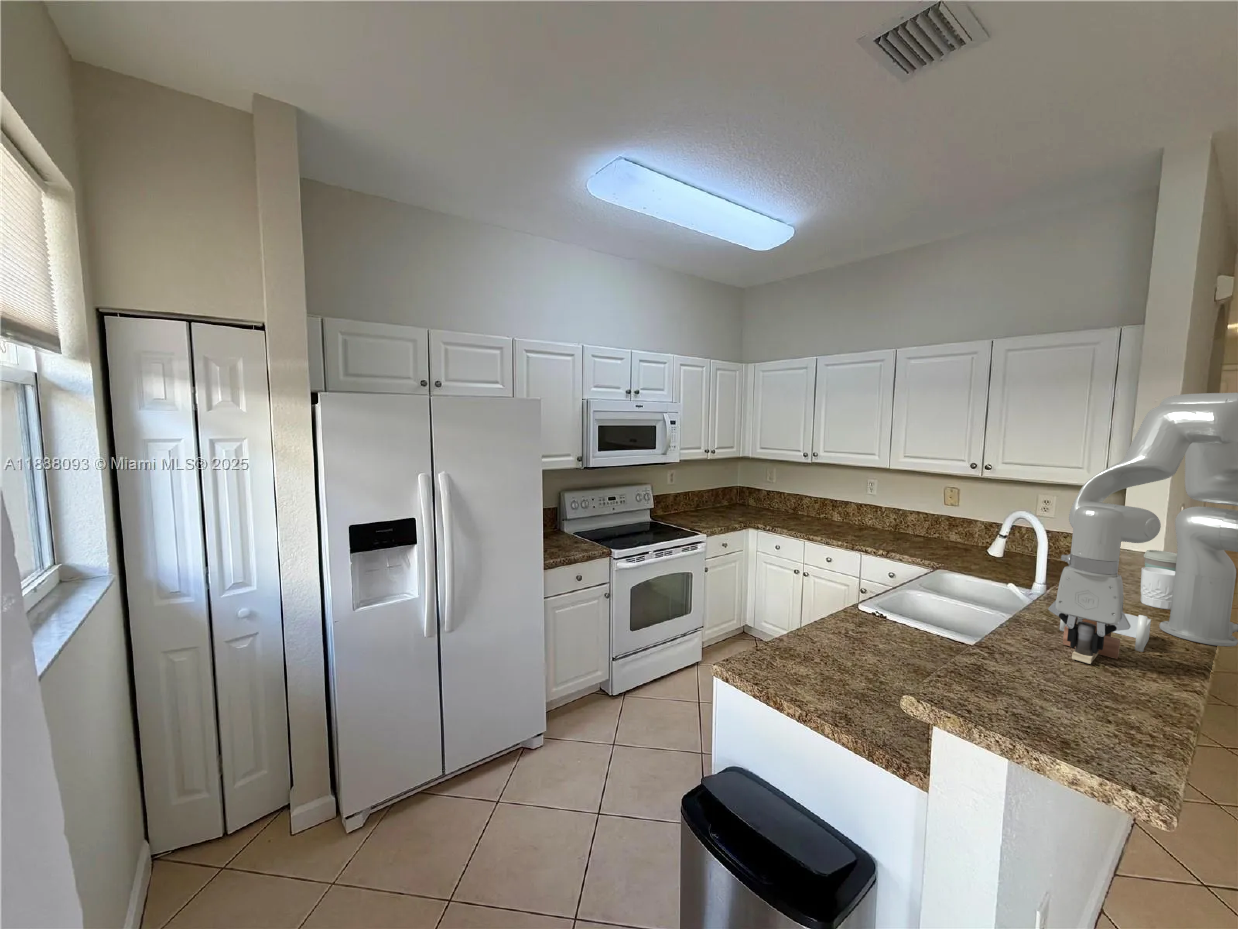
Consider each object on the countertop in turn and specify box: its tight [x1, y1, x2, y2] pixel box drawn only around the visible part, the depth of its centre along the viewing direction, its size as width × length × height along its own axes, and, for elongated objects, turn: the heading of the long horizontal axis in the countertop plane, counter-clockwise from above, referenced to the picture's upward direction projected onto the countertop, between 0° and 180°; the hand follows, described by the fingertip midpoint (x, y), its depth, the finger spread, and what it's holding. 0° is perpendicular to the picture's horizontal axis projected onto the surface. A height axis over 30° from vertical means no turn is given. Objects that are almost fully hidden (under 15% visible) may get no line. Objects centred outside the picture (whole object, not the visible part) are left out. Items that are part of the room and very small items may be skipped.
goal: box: [1059, 612, 1152, 653], centre depth 123 cm, size 11×15×8 cm
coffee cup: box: [1143, 549, 1177, 571], centre depth 158 cm, size 8×8×12 cm
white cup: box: [1140, 566, 1175, 610], centre depth 144 cm, size 8×8×10 cm
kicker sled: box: [1062, 622, 1121, 665], centre depth 111 cm, size 10×9×8 cm
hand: (1084, 648), depth 109 cm, fingers closed on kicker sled, 2 cm apart
